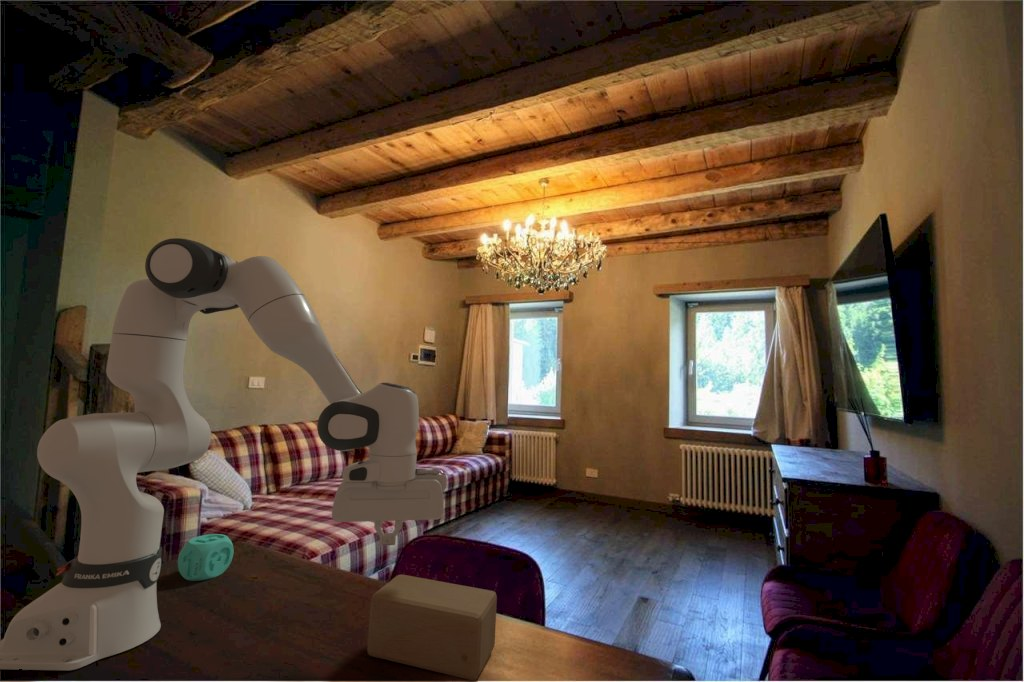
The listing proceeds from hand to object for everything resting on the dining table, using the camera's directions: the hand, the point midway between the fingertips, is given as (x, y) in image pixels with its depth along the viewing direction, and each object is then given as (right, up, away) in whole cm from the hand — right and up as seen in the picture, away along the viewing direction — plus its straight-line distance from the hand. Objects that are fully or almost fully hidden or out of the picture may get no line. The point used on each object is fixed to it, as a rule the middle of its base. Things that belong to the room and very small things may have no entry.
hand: (387, 544), depth 84 cm
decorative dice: (-49, -17, +22) cm, 57 cm away
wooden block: (0, -10, -4) cm, 11 cm away
